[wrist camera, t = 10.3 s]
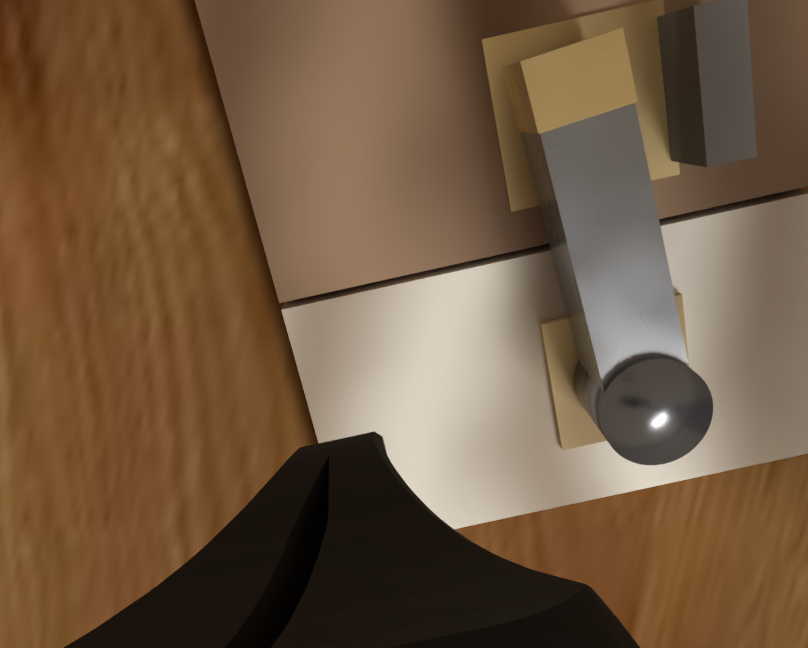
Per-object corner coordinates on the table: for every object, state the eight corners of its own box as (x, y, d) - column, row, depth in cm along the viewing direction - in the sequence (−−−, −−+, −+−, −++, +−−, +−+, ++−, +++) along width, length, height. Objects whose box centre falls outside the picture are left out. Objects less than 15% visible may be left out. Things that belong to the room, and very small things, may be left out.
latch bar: (678, 404, 21) (721, 446, 18) (585, 432, 21) (616, 478, 18) (598, 34, 18) (638, 22, 15) (490, 70, 18) (511, 64, 15)
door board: (778, -171, 18) (864, -229, 15) (807, 435, 23) (875, 486, 20) (192, -35, 18) (155, -65, 15) (349, 533, 23) (346, 598, 20)
